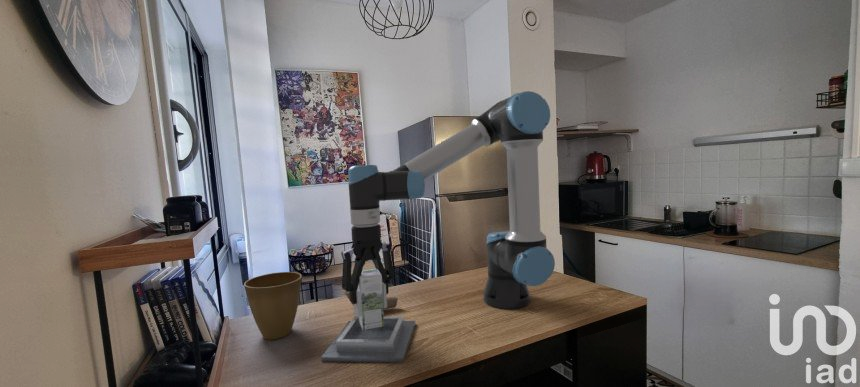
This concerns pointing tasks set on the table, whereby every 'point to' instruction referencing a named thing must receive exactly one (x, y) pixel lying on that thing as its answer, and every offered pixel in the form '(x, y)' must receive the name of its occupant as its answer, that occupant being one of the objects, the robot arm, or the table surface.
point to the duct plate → (371, 342)
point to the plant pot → (274, 302)
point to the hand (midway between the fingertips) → (370, 310)
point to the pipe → (390, 300)
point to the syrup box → (371, 300)
